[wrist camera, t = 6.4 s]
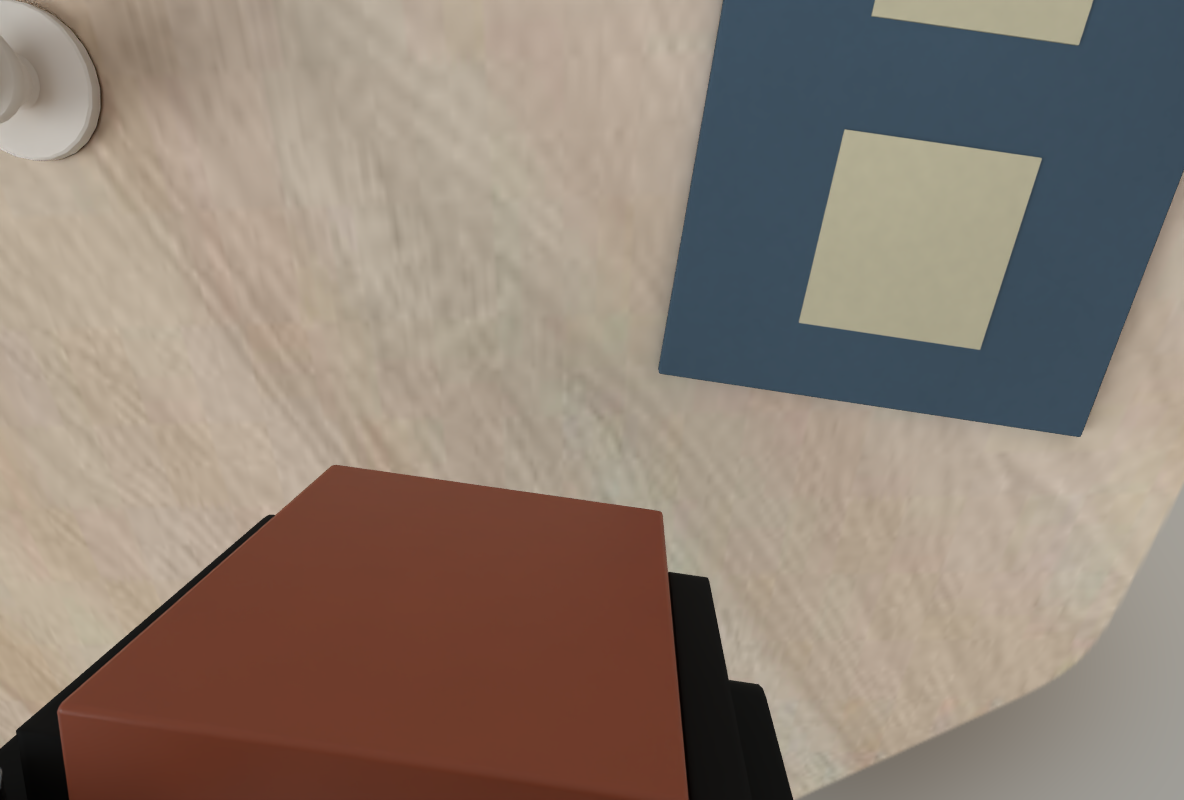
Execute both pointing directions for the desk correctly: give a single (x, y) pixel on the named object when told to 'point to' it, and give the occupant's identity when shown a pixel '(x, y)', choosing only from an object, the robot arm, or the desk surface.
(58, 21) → the candle
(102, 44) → the desk surface
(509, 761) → the rust brown block
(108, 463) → the desk surface
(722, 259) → the mat
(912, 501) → the desk surface
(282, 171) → the desk surface
